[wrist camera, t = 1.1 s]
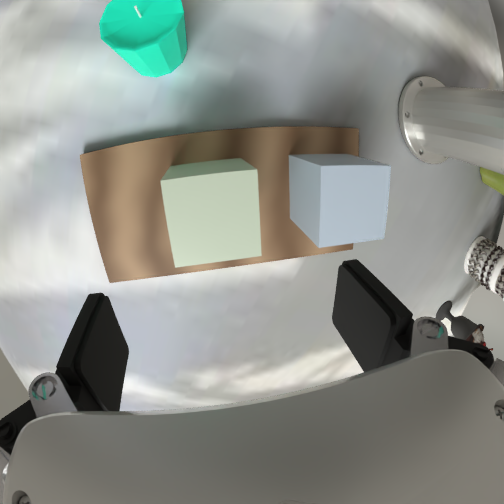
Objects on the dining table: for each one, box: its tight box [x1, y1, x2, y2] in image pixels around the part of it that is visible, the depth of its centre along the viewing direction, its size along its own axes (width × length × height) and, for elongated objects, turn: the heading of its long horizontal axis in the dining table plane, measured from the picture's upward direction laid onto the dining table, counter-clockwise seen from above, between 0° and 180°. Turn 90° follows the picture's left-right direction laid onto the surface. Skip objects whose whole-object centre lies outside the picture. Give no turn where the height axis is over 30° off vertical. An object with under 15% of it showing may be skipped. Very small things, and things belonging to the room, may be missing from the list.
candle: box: [99, 0, 187, 77], centre depth 16 cm, size 6×6×12 cm
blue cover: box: [289, 154, 391, 248], centre depth 26 cm, size 7×7×8 cm
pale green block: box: [160, 158, 262, 268], centre depth 24 cm, size 7×7×8 cm
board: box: [80, 127, 359, 283], centre depth 29 cm, size 30×15×2 cm, turn 92°
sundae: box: [436, 301, 493, 350], centre depth 40 cm, size 7×7×15 cm
